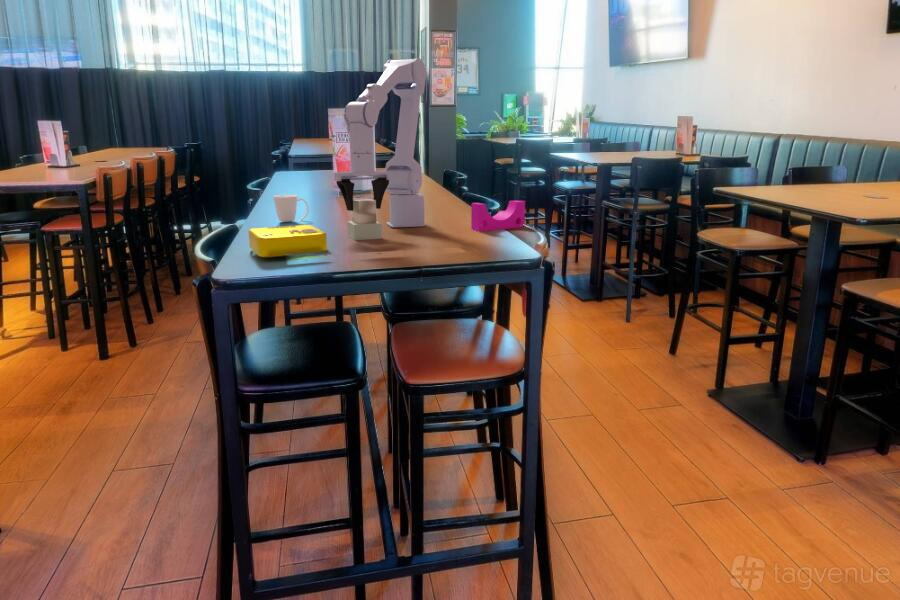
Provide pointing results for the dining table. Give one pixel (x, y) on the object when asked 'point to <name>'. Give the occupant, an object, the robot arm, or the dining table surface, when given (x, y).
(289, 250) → the element tile
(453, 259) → the dining table surface
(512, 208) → the toy block
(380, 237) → the sage base block
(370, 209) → the ash block
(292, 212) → the cup
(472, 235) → the dining table surface
